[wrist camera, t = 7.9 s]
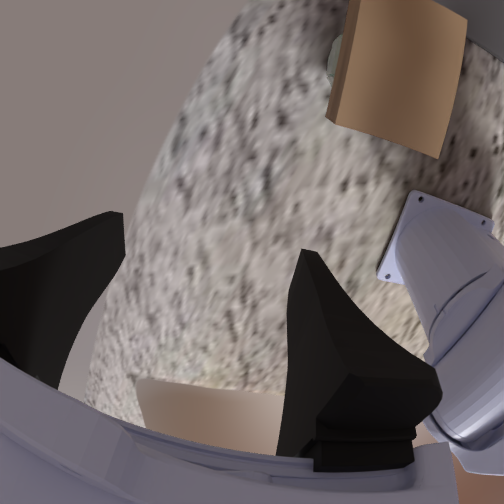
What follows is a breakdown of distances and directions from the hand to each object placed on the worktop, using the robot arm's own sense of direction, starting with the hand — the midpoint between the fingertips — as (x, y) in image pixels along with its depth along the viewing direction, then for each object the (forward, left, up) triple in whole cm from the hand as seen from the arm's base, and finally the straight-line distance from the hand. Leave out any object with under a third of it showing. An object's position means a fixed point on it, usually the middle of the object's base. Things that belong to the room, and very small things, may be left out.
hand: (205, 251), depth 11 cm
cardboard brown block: (-7, -9, -7) cm, 14 cm away
